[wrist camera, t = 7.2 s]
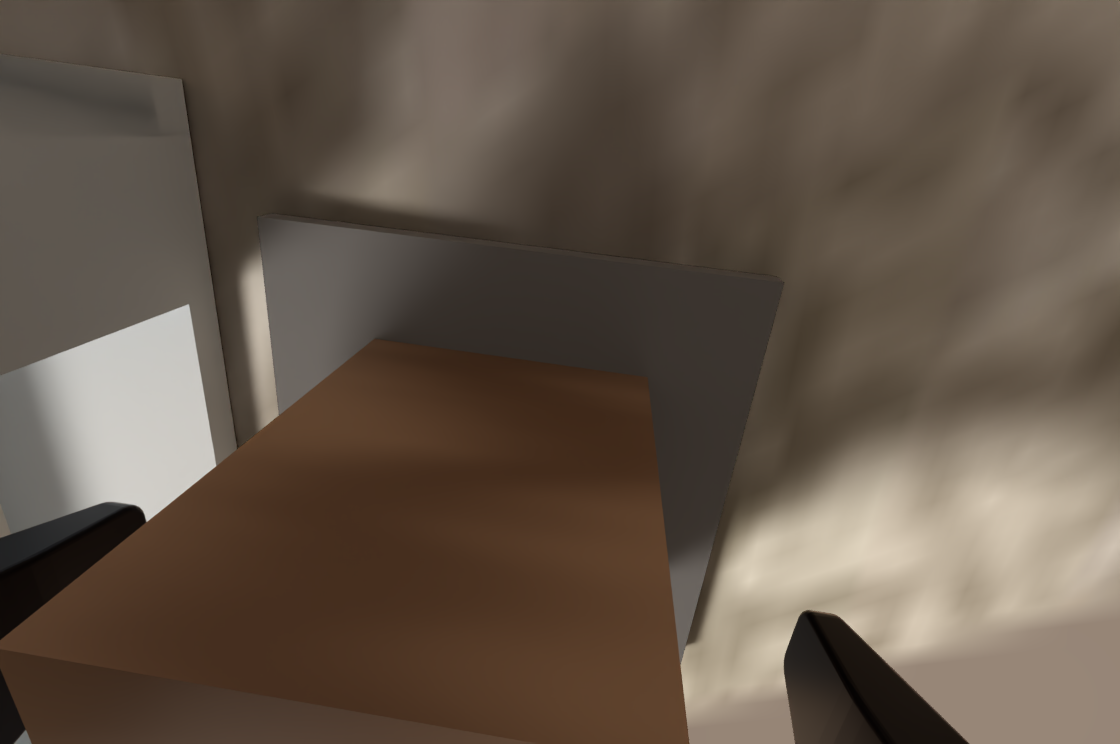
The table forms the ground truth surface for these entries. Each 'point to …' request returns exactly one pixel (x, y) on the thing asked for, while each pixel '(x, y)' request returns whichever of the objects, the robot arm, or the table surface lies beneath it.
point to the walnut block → (386, 575)
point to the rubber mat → (540, 338)
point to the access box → (102, 297)
